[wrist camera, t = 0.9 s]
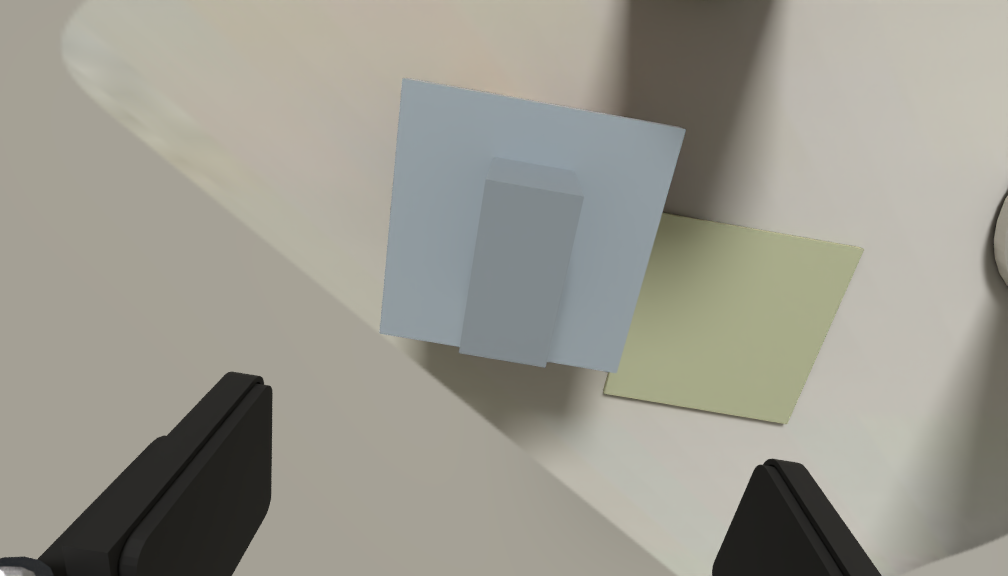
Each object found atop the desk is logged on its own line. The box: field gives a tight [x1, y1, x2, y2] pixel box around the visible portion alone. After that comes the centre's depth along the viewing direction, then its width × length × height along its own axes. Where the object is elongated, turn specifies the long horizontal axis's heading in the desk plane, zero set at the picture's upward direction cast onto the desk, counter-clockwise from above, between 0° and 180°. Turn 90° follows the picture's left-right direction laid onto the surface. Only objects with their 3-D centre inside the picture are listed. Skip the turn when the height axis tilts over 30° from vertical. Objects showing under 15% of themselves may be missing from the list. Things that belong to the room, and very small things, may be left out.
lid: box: [380, 78, 686, 373], centre depth 24 cm, size 12×12×7 cm
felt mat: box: [603, 213, 864, 424], centre depth 36 cm, size 13×13×1 cm
